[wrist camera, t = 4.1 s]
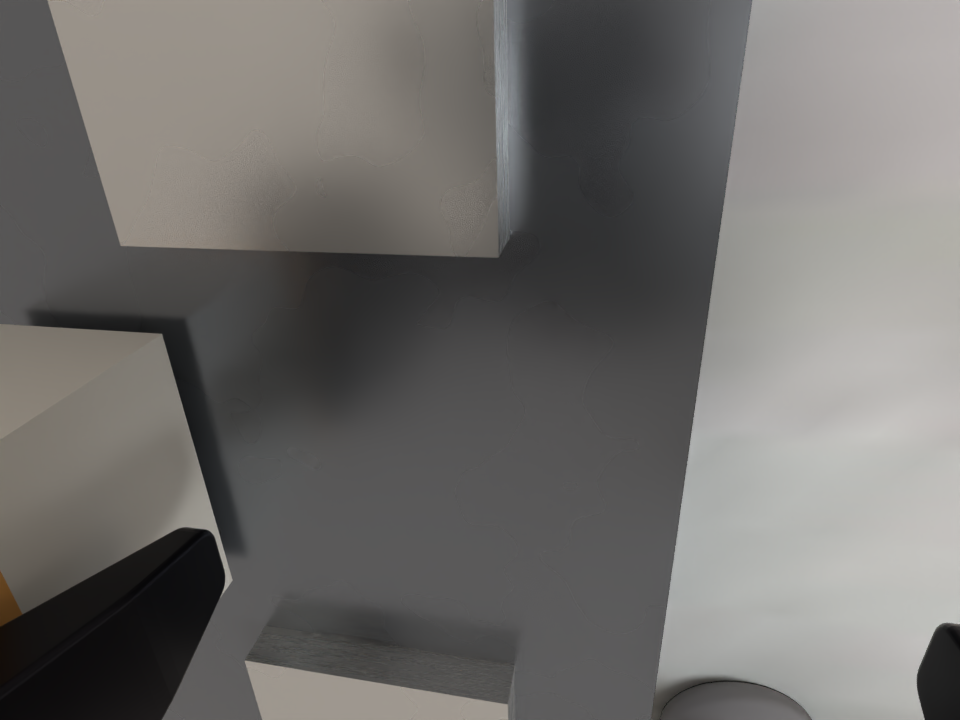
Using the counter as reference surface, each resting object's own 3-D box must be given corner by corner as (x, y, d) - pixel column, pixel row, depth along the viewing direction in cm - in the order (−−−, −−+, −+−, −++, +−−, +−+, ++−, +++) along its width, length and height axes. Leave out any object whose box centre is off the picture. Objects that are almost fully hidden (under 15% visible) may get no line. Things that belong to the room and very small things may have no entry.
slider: (232, 581, 12) (66, 813, 8) (91, 560, 12) (-119, 770, 9) (161, 333, 9) (-110, 511, 6) (-7, 323, 10) (-343, 479, 7)
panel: (635, 683, 16) (638, 859, 12) (198, 615, 18) (101, 748, 15) (730, -122, 8) (799, -220, 5) (-27, -61, 11) (-321, -102, 7)
